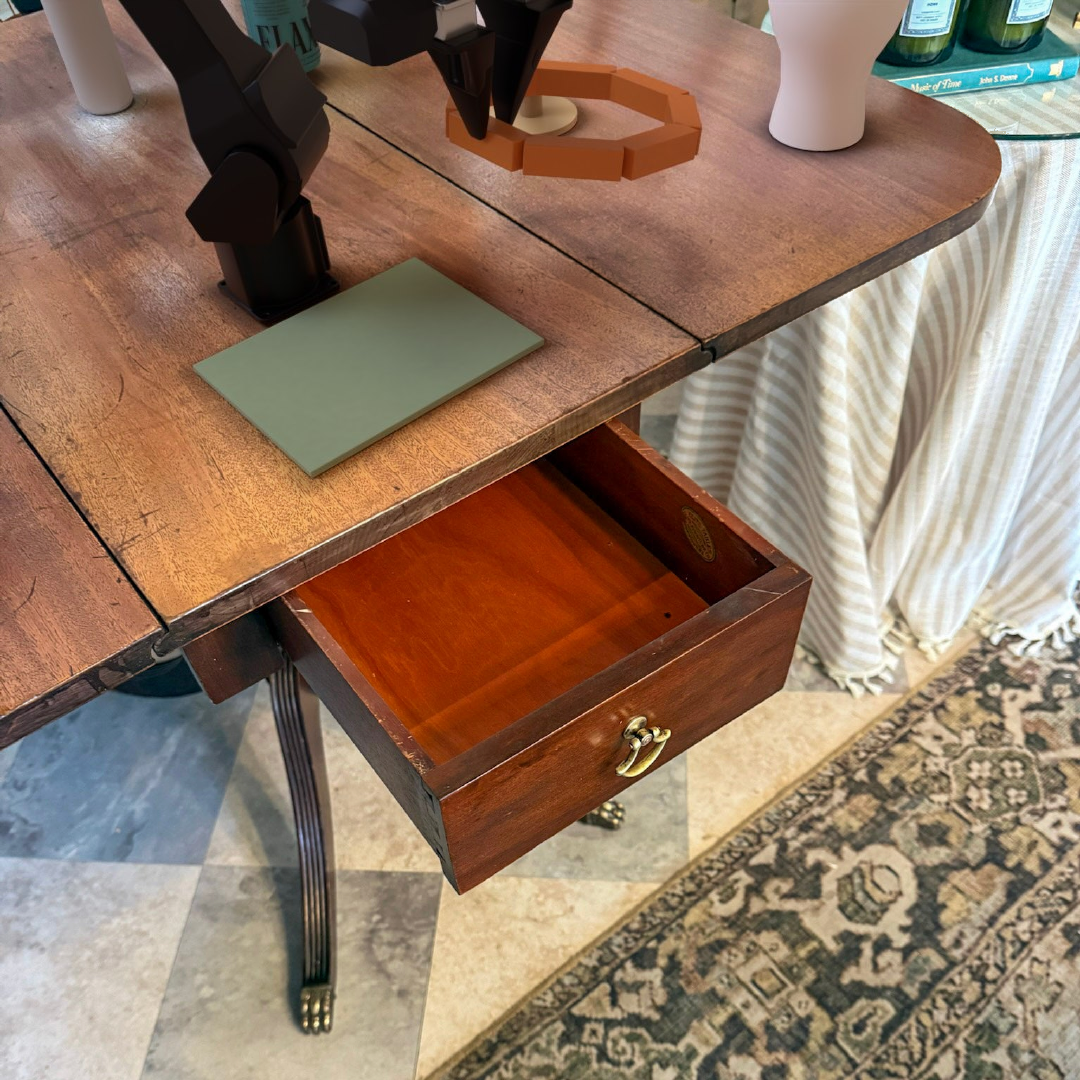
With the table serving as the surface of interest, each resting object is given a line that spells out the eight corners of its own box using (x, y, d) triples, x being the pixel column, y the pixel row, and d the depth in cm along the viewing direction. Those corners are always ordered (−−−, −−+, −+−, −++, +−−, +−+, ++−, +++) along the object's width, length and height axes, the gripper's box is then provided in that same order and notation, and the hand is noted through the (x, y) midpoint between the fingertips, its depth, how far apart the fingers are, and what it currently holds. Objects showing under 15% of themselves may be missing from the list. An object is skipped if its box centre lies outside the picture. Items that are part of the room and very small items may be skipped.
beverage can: (141, 107, 92) (93, -36, 83) (89, 121, 91) (34, -23, 82) (127, 89, 95) (79, -51, 86) (76, 102, 94) (22, -39, 85)
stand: (527, 150, 84) (524, 98, 80) (467, 120, 88) (462, 70, 85) (596, 118, 87) (596, 67, 84) (535, 91, 91) (533, 42, 88)
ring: (571, 202, 56) (573, 170, 55) (399, 117, 64) (398, 88, 63) (744, 142, 65) (749, 114, 64) (573, 74, 73) (575, 47, 72)
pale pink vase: (839, 93, 88) (874, -102, 77) (906, 146, 81) (955, -61, 70) (729, 115, 86) (749, -82, 75) (788, 170, 79) (819, -38, 68)
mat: (312, 478, 58) (310, 472, 57) (194, 371, 65) (191, 365, 65) (544, 344, 65) (544, 338, 65) (415, 262, 73) (414, 256, 72)
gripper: (499, -238, 57) (515, 48, 68) (213, -168, 49) (285, 143, 60) (644, -212, 51) (635, 95, 63) (348, -128, 43) (400, 208, 54)
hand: (491, 131), depth 60 cm, fingers closed on ring, 2 cm apart
